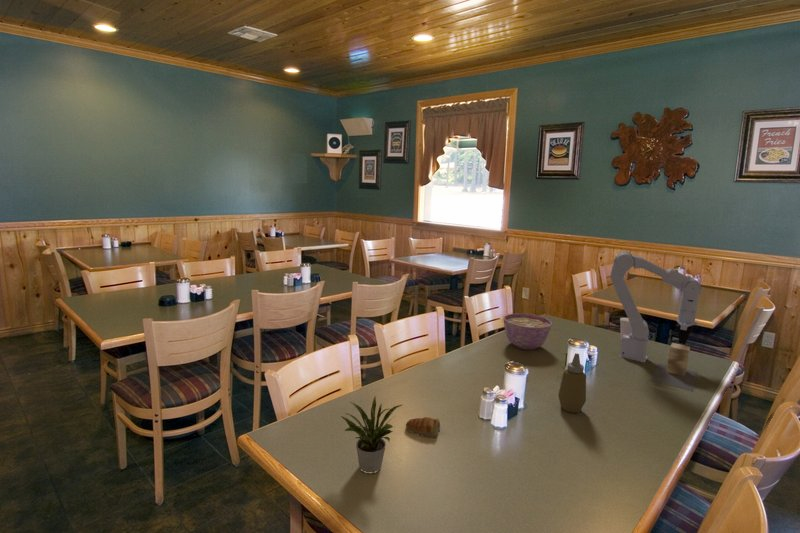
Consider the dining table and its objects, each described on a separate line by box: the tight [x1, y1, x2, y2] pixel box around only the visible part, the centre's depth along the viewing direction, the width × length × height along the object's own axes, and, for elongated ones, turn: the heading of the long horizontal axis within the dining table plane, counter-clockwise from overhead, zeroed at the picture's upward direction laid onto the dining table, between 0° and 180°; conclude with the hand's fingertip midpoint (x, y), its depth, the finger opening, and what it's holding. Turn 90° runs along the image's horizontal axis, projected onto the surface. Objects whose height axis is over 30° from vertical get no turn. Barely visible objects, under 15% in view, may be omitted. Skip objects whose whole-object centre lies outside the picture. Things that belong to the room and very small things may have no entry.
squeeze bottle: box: [558, 352, 587, 414], centre depth 140 cm, size 8×8×18 cm
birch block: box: [666, 342, 691, 376], centre depth 172 cm, size 6×6×10 cm
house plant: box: [340, 395, 403, 472], centre depth 108 cm, size 14×14×16 cm
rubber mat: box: [649, 362, 698, 392], centre depth 168 cm, size 13×21×1 cm, turn 144°
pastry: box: [405, 416, 441, 439], centre depth 126 cm, size 9×7×4 cm
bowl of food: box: [503, 313, 553, 350], centre depth 194 cm, size 20×20×12 cm
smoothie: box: [619, 317, 631, 341], centre depth 207 cm, size 6×6×14 cm
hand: (682, 343), depth 178 cm, fingers closed
